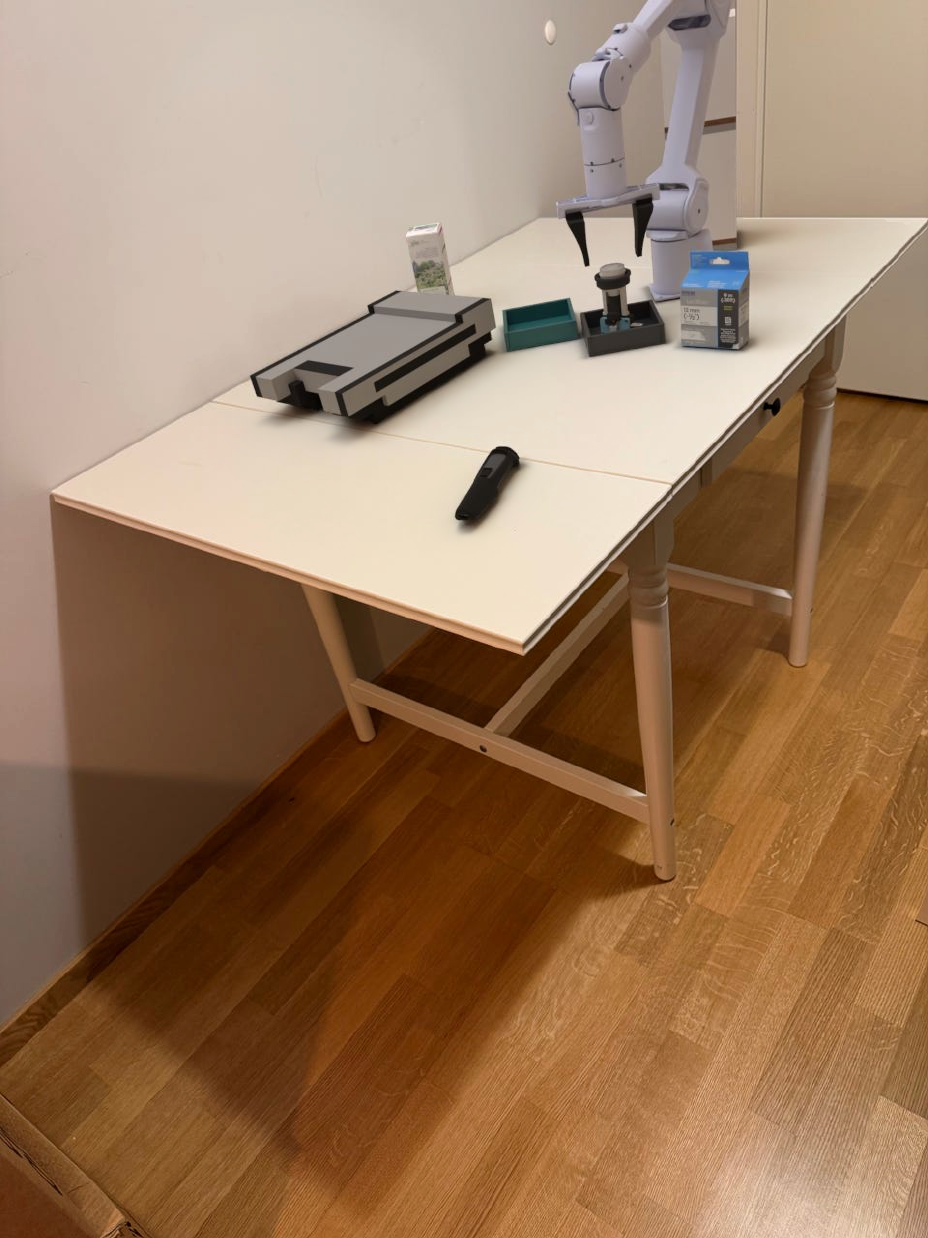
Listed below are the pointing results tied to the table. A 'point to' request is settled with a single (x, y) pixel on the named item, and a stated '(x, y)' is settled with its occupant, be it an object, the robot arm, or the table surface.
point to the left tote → (539, 324)
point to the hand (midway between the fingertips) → (612, 259)
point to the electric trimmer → (486, 483)
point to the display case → (712, 133)
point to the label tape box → (716, 300)
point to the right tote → (623, 339)
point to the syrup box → (429, 259)
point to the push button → (614, 297)
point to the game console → (383, 356)
